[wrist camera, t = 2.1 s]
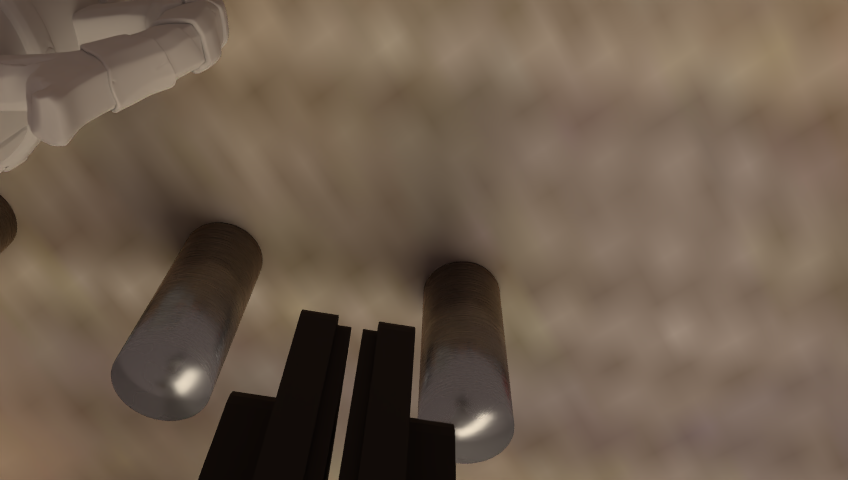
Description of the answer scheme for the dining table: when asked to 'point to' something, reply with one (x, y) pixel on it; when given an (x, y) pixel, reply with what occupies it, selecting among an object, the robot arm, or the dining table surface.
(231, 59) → the dining table surface
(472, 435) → the posts
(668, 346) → the dining table surface
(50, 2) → the mug
